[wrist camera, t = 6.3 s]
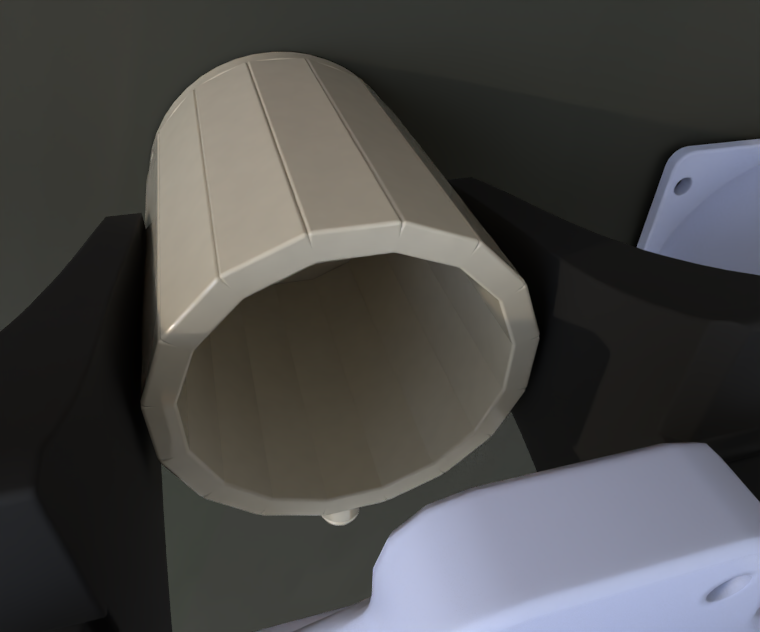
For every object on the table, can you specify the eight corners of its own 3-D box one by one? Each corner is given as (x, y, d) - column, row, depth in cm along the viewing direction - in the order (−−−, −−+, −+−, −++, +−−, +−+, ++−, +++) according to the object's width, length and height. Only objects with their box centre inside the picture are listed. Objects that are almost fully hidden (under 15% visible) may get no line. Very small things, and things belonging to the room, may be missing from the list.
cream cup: (119, 59, 11) (89, 260, 6) (409, 43, 13) (577, 199, 8) (191, 365, 16) (207, 612, 11) (394, 332, 18) (487, 540, 13)
